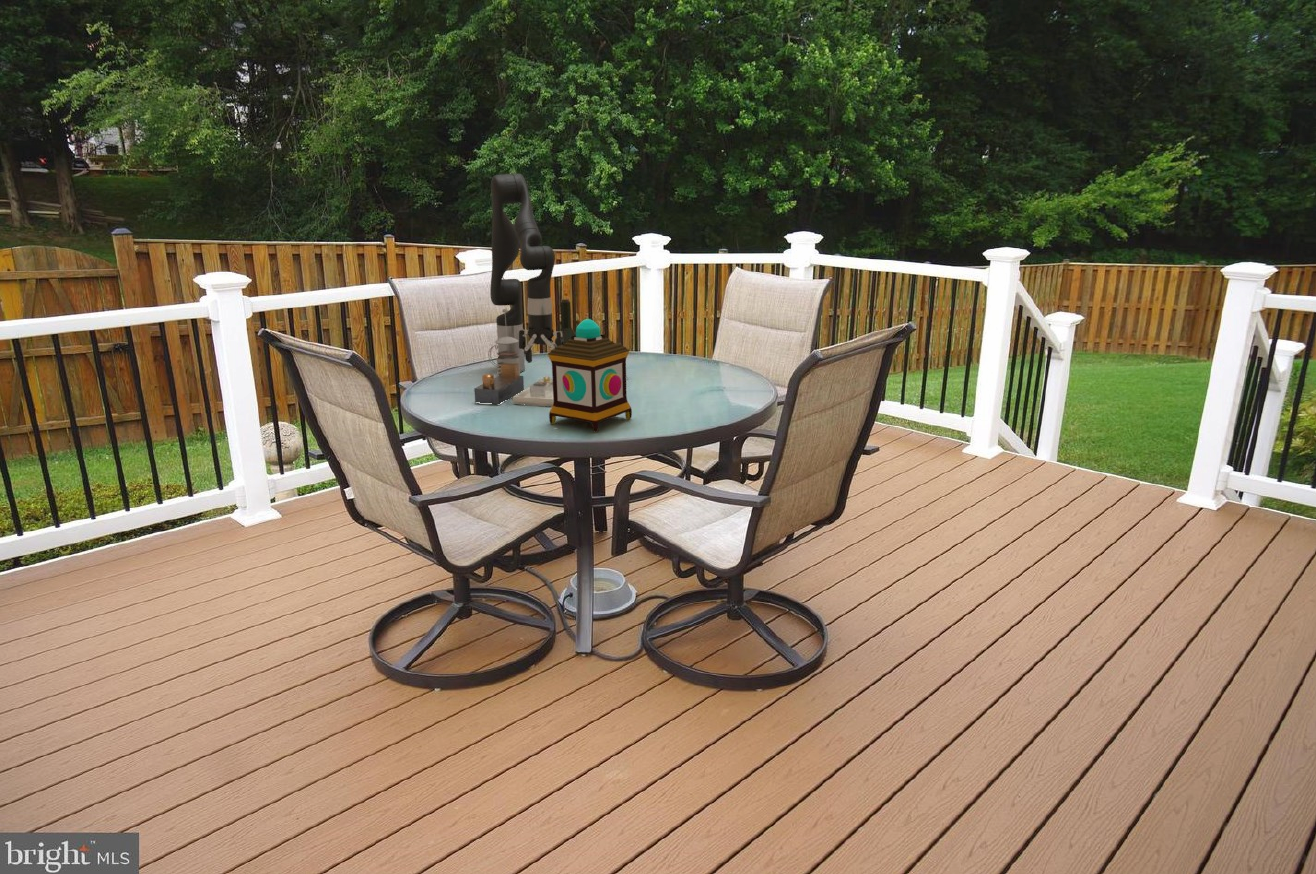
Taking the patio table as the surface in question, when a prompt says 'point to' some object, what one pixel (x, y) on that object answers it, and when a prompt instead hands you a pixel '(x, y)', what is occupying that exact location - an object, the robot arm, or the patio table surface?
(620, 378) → the decorative lantern
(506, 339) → the french press
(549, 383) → the lever cap
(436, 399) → the patio table surface
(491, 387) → the plane body
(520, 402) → the tray
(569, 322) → the wine bottle
